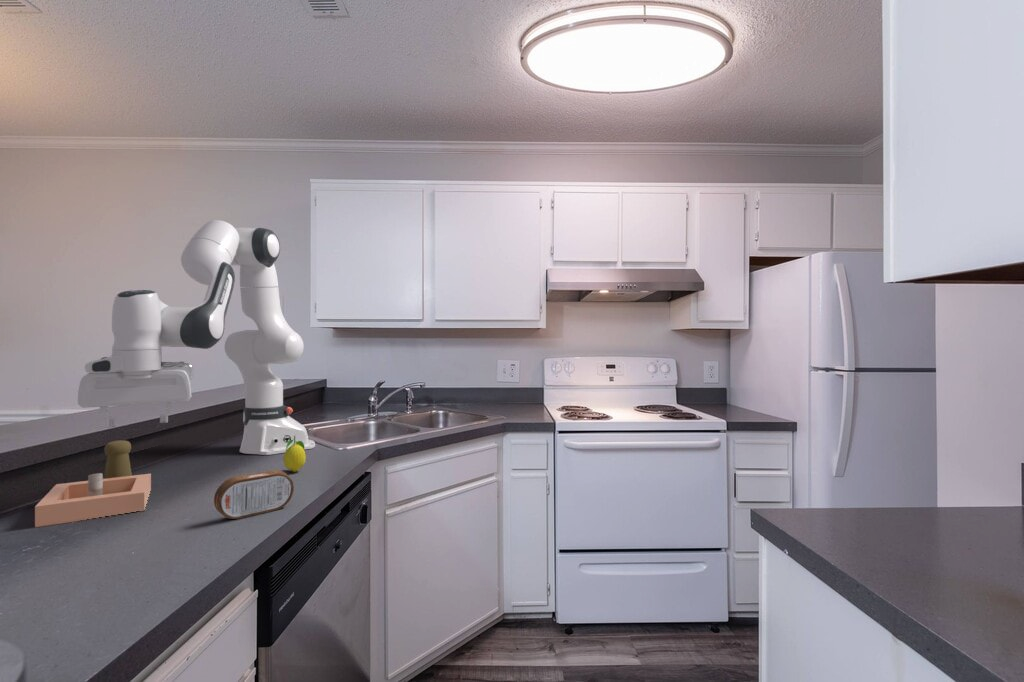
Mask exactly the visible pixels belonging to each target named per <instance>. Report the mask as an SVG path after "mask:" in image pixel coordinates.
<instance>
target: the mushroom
mask: <svg viewBox="0 0 1024 682" xmlns="http://www.w3.org/2000/svg"><path fill="white" fill-rule="evenodd" d="M103 479H104V474H103V473H102V472H99V473H91V474H89V475H87V481H88V497H89V496H97V495H103Z"/></svg>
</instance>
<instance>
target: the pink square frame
mask: <svg viewBox="0 0 1024 682" xmlns="http://www.w3.org/2000/svg"><path fill="white" fill-rule="evenodd" d="M150 491H152V473H144V474H134V475H132V476H125V477H116V478H107V479H104V478H103V495H97V496H89V497H88V480H83V481H75V482H74V481H73V482H66V483H64V482H63V483H56V484H55V485H54V486H53V487H52V488H51V489H50V490H49V492H47V493H46V495H44V497H42V499H41V500H40V501H39V502H38V503H37V504H36V505H35V506H34V528H40V527H47V526H53V525H59V524H60V525H61V524H67V523H74V522H75V523H76V522H80V521H81V520H82V521H87V519H89V520H93V519H92V518H96V519H100V518H99V517H102V518H106V517H105V516H109V517H112V516H111V515H116V516H118V515H117V514H123V515H125V514H124V513H130V512H136V511H143V510H146V508H145V507H147V505H146V504H148V501H147V500H149V498H150V495H149V494H151V492H150ZM148 497H149V498H148ZM130 514H131V513H130Z"/></svg>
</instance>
